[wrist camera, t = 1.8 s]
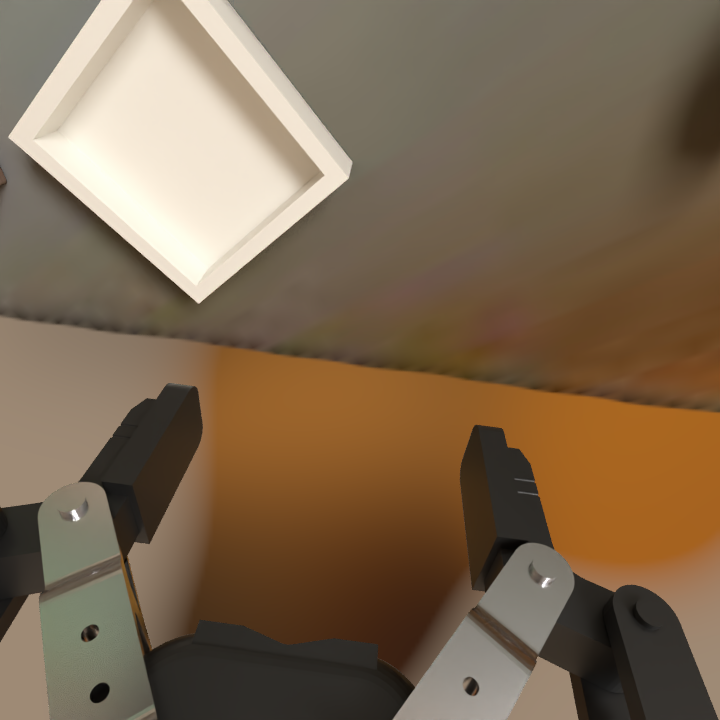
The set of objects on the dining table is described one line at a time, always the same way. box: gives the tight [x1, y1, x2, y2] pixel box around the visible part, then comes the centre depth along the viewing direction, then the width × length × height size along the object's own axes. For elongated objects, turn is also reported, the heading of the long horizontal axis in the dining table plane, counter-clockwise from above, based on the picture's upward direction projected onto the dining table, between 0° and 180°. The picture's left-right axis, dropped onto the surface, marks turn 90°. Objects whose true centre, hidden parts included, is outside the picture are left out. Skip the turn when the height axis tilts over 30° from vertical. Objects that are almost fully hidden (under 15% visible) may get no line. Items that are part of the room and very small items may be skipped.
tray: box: [9, 0, 352, 304], centre depth 29 cm, size 14×14×4 cm
